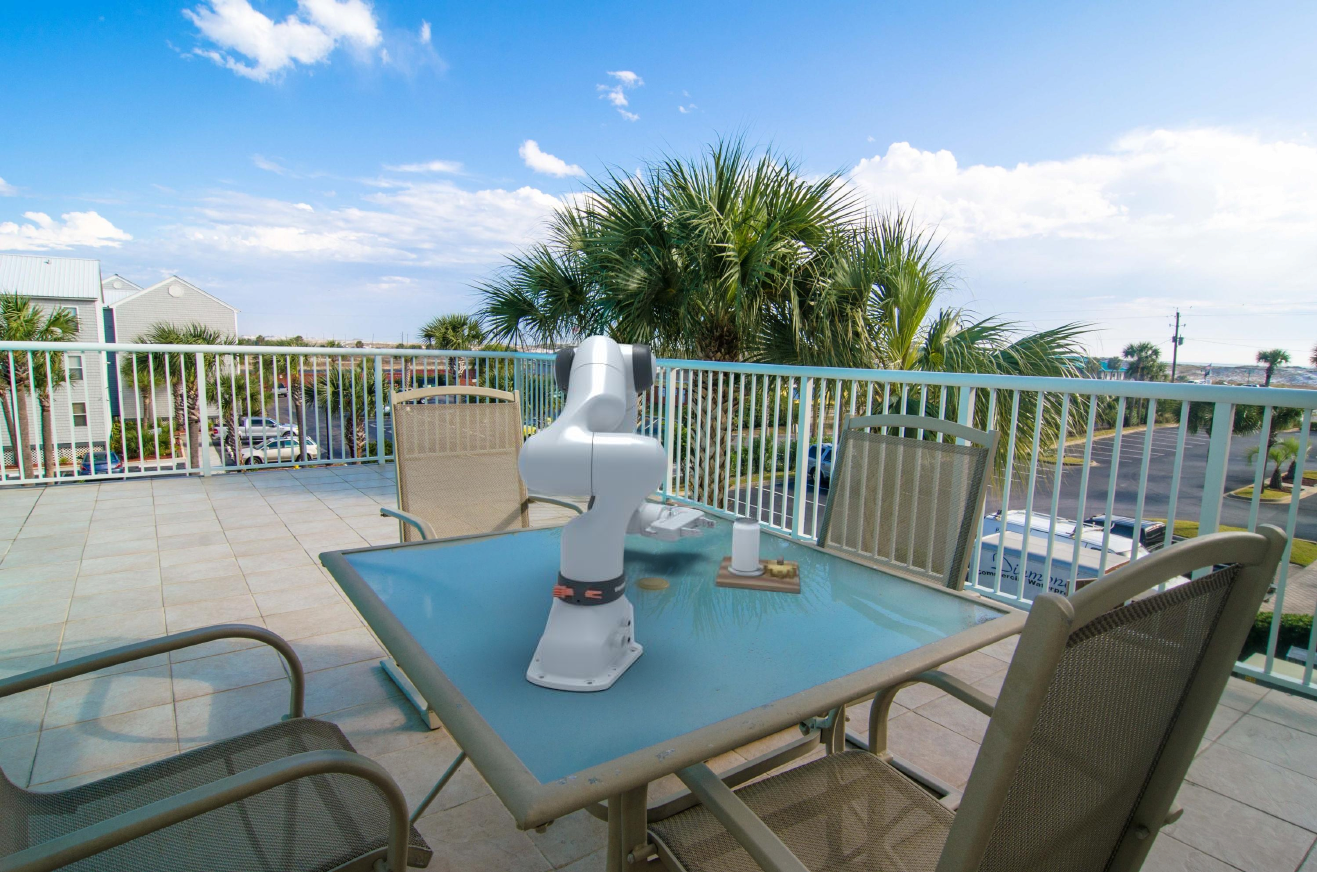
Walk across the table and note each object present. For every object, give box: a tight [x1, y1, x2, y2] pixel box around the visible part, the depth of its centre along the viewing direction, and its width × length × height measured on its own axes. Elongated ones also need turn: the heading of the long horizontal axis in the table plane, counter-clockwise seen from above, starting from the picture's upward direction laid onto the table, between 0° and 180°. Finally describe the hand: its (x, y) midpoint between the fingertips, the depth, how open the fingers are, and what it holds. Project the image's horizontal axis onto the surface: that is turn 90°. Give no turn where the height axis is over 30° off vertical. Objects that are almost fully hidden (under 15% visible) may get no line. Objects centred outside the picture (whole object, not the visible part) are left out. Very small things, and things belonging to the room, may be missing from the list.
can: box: [731, 516, 761, 572], centre depth 156 cm, size 6×6×12 cm
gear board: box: [715, 554, 801, 594], centre depth 157 cm, size 20×19×6 cm
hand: (708, 529), depth 160 cm, fingers open, 8 cm apart
